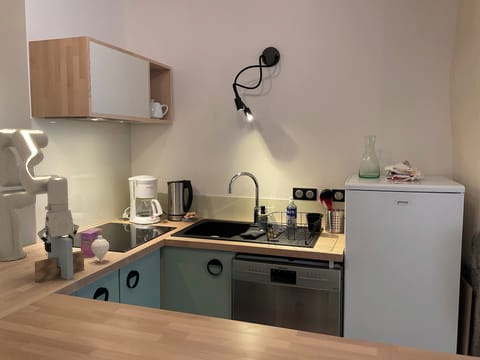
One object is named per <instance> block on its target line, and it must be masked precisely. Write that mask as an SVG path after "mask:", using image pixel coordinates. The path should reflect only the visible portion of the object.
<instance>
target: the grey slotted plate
mask: <svg viewBox="0 0 480 360" xmlns="http://www.w3.org/2000/svg"><path fill="white" fill-rule="evenodd" d="M50 243H51V252H50V253H49V252H46V254H47V259H48V258H52V257H54V258H57V266H59V267H61V277H60V278H61V279H64V280H67V281H68V280H72V279H74V273H73V251H74V250H73V247H72V239H70V238H68V237H65V236H60V237H55V238H53V237H52V239H51V240H50Z"/></svg>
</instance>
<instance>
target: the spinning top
mask: <svg viewBox="0 0 480 360" xmlns="http://www.w3.org/2000/svg"><path fill="white" fill-rule="evenodd" d="M109 243H110V242H108V241H107V239H105V238H103V235H102V236H98V239H96V240H95V241H94V242H93V243H92V245H91V248H92V251H93V253H94V254H95V255H96V256H95V257H96V258H97V259H98V260H99V261H100V263H102V260H103V259H104V258H105V256H106V255H107V253H108V251H109V249H110V244H109Z"/></svg>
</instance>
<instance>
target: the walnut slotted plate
mask: <svg viewBox="0 0 480 360" xmlns="http://www.w3.org/2000/svg"><path fill="white" fill-rule="evenodd" d="M82 271H85V257H84V252H83V251H81V250H78V251H74V252H73V274H75V273H78V272H82ZM34 275H35V276H34V278H35V279H34V280H35V283H37V282H38V283H37V284H40V282H41V283H44V282H48V281H50V280H54V279H55V280H56V279H58V278H61V267H59V266H57V258H54V257H52V258H48V257H47V258H44V259H39V260H37V261H34Z"/></svg>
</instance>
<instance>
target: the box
mask: <svg viewBox="0 0 480 360" xmlns="http://www.w3.org/2000/svg"><path fill="white" fill-rule="evenodd" d="M98 236H102V237H103V228H100V227H99V228H97V227H92V228H89V229H86V230H84V231H81V232H80V236H79V237H80V238H79V239H80V251H83V252H84V258H85V259H86V258H89V259H91V258H93V257H96V255H95V254H94V253H93V251H92V248H91V245H92V243H93V242H94V241H95V240H96V239H98Z"/></svg>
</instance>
